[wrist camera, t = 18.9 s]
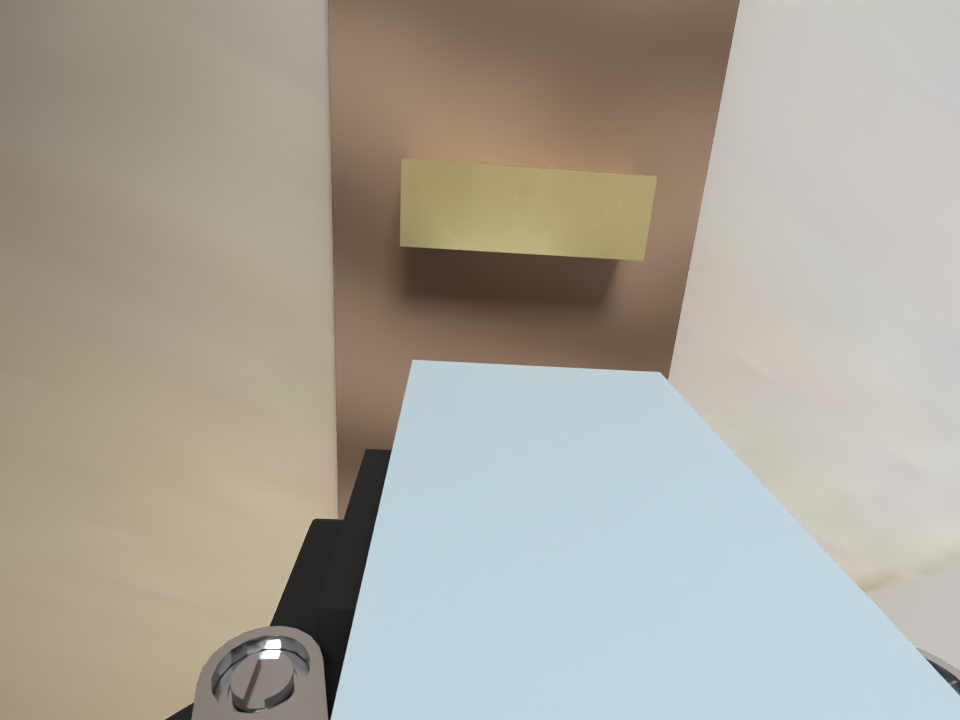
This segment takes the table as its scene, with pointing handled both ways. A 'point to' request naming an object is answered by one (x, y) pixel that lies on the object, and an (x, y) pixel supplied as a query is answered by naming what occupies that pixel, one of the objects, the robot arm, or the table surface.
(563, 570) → the painted block
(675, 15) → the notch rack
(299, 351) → the table surface
